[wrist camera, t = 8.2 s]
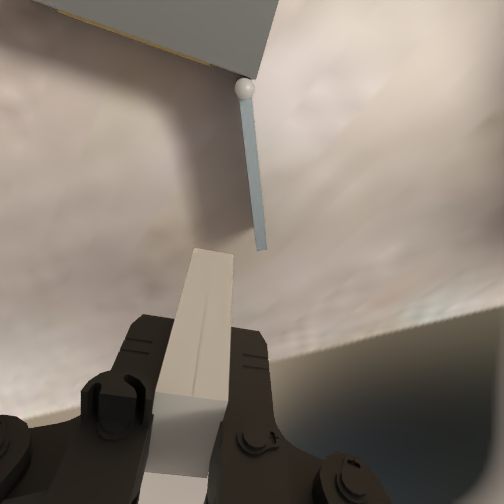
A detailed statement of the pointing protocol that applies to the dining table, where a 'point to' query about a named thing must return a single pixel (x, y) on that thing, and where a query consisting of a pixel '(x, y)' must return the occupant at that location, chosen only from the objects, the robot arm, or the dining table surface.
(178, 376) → the robot arm
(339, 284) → the dining table surface
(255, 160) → the side door
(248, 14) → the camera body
